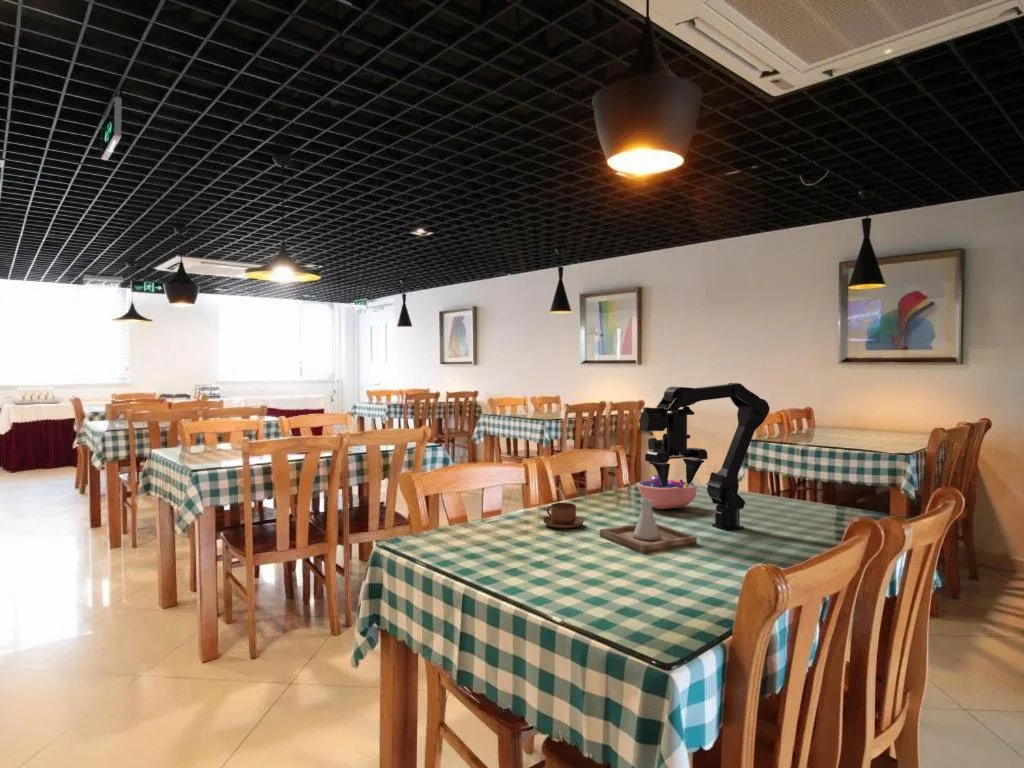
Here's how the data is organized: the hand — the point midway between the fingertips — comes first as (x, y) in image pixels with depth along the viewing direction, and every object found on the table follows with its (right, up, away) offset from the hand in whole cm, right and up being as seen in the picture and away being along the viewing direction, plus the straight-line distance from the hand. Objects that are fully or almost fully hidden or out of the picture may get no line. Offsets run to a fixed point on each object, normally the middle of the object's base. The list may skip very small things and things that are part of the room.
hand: (676, 485), depth 172 cm
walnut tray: (-11, -13, -10) cm, 20 cm away
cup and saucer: (-32, -13, +6) cm, 35 cm away
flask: (-11, -13, -10) cm, 19 cm away
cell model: (+5, -13, +28) cm, 32 cm away
